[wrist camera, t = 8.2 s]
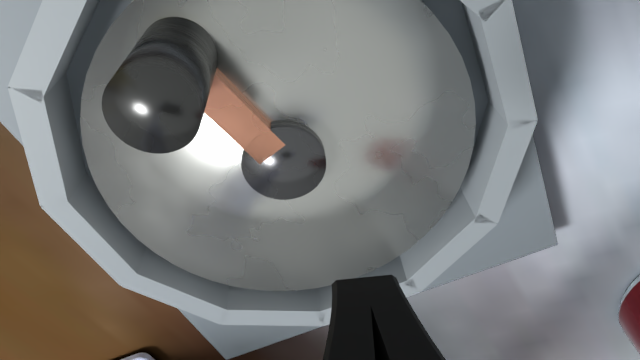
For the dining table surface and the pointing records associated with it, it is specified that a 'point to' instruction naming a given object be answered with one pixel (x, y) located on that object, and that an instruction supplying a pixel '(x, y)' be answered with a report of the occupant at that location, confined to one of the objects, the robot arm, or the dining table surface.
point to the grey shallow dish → (259, 305)
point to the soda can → (631, 313)
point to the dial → (278, 134)
